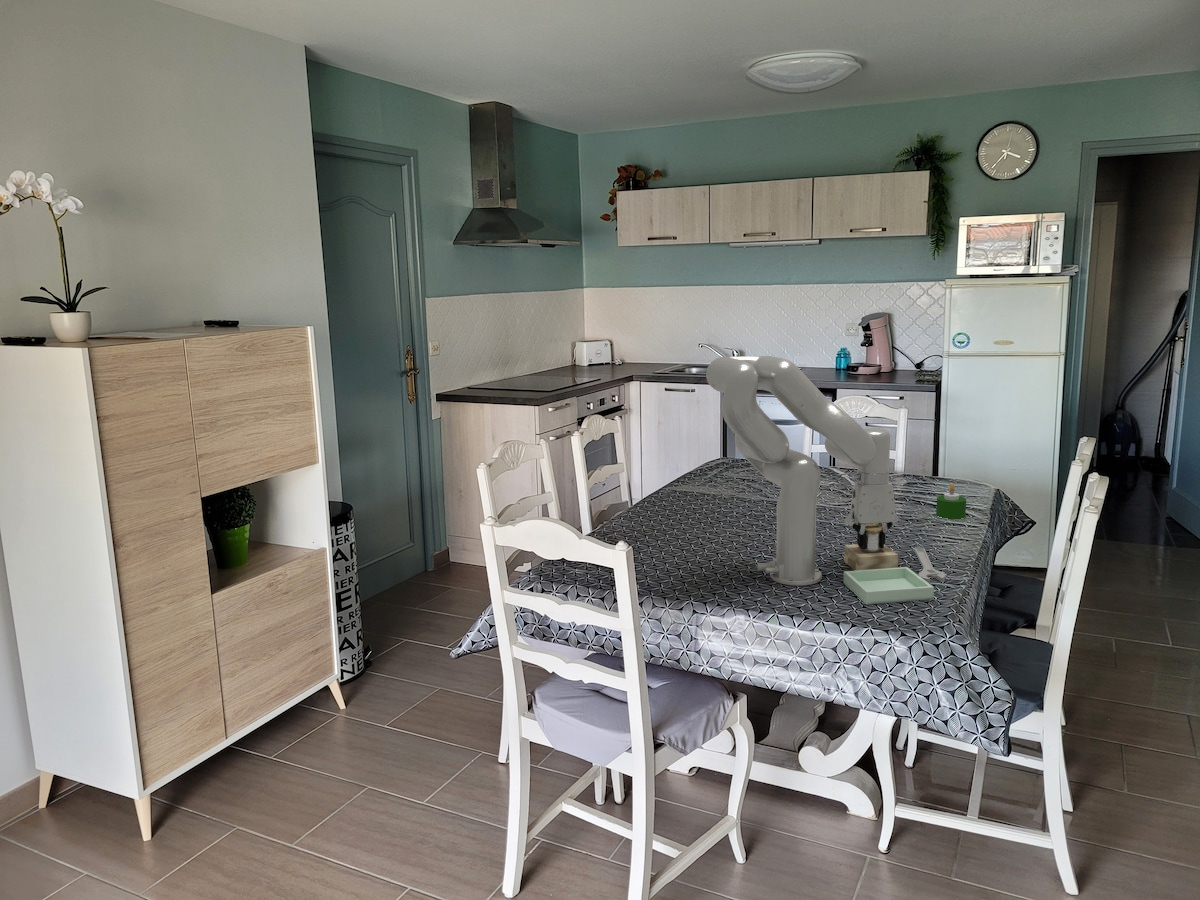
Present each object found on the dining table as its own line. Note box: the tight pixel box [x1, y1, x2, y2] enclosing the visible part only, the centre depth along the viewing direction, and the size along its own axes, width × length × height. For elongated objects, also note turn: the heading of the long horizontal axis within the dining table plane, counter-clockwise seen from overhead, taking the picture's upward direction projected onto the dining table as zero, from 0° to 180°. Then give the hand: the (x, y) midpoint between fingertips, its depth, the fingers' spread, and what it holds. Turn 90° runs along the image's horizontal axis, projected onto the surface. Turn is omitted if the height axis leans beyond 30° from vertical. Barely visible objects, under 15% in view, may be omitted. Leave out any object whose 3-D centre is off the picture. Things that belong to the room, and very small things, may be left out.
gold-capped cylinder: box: [863, 523, 882, 554], centre depth 224 cm, size 5×5×11 cm
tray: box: [842, 566, 935, 605], centre depth 208 cm, size 16×14×3 cm
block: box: [843, 543, 899, 571], centre depth 224 cm, size 10×10×4 cm
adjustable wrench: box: [913, 546, 946, 584], centre depth 223 cm, size 25×6×2 cm, turn 164°
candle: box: [935, 483, 967, 520], centre depth 265 cm, size 8×8×10 cm
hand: (871, 546), depth 224 cm, fingers closed on gold-capped cylinder, 4 cm apart
